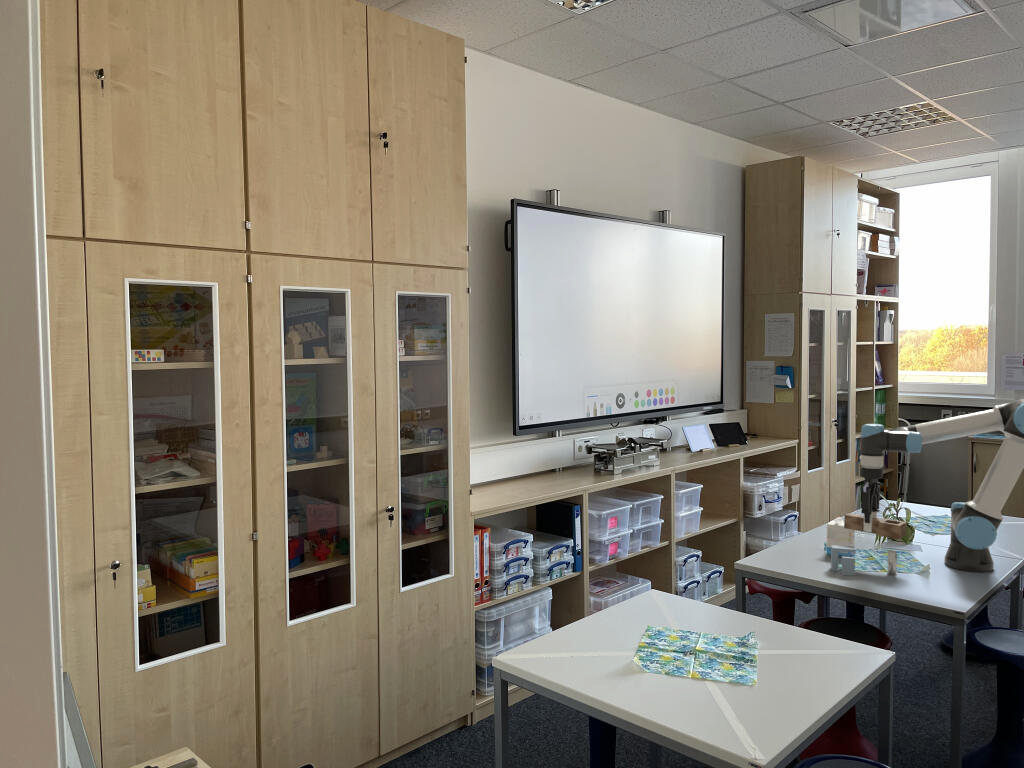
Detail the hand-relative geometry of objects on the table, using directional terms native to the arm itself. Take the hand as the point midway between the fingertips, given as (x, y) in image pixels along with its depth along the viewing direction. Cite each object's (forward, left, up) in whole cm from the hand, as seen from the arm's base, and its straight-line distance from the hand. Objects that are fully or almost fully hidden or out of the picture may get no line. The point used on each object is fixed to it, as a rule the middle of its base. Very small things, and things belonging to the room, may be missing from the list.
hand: (869, 530), depth 269 cm
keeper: (+7, +13, -13) cm, 20 cm away
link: (-1, 0, -1) cm, 1 cm away
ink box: (+12, -12, -13) cm, 21 cm away
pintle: (-8, +7, -13) cm, 17 cm away
